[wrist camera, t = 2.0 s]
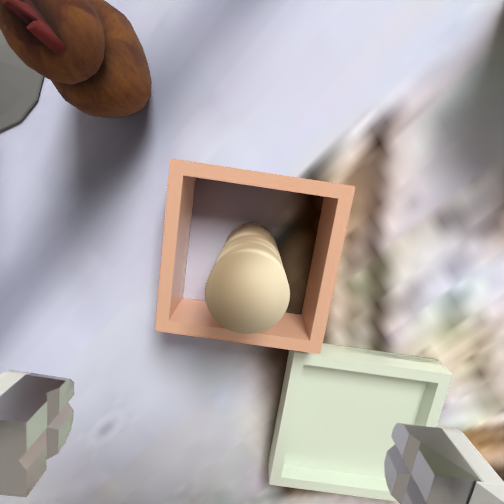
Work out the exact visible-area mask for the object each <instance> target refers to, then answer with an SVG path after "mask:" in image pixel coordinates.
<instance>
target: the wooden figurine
mask: <svg viewBox="0 0 504 504" xmlns="http://www.w3.org/2000/svg"><path fill="white" fill-rule="evenodd" d="M0 29H1V31H2V33H3V35H4V37H5V39H6V41H7V43H8V45H9V47H10V48H11V49H12V50H13V51H14V52H15V53H16V55H17V56H18V57H19V58H20V59H21V60H22V61H23V62H24V63H25V64H26V65H27V66H28V67H30V68H31V69H33V70H34V71H36V72H37V73H39V74H40V75H42V76H44V77H46V78H48V79H50V80H51V81H52V83H53V84H54V86H55V87H56V89H57V90H58V92H59V93H60V94H61V96H62V97H63V98H64V99H65V101H67V102H68V103H70V104H71V105H73V106H74V107H76V108H78V109H79V110H81V111H82V112H84V113H86V114H88V115H92V116H97V117H107V118H119V117H124V116H127V115H131V114H134V113H136V112H138V111H139V110H141V109H142V108H144V107H145V105H146V103H147V101H148V100H149V98H150V96H151V77H150V71H149V67H148V63H147V60H146V57H145V54H144V51H143V48H142V45H141V43H140V41H139V39H138V37H137V35H136V33H135V31H134V29H133V27H132V25H131V23H130V22H129V20H128V19H127V18H126V16H125V15H124V14H122V13H121V12H120V11H118V10H117V9H116V8H114V7H113V6H111V5H110V4H109V3H107V2H106V1H104V0H0Z"/></svg>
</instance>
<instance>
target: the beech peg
mask: <svg viewBox="0 0 504 504" xmlns="http://www.w3.org/2000/svg"><path fill="white" fill-rule="evenodd" d="M289 299H290V289H289V284H288V281H287V277H286V274H285V271H284V268H283V264H282V261H281V258H280V255H279V251H278V248H277V245H276V242H275V239H274V237H273V235H272V233H271V232H270V231H269V230H268V229H267V228H265V227H264V226H262V225H259V224H255V223H247V224H243V225H240V226H238V227H237V228H235V229H234V230H233V231H232V232H231V233H230V235H229V236H228V238H227V240H226V242H225V244H224V247H223V249H222V251H221V253H220V255H219V257H218V259H217V261H216V263H215V265H214V267H213V269H212V271H211V273H210V275H209V277H208V280H207V283H206V288H205V300H206V304H207V307H208V309H209V311H210V313H211V315H212V316H213V318H214V319H215V320H216V321H217V322H218V323H219V324H220V325H222V326H223V327H225V328H226V329H228V330H231V331H233V332H236V333H241V334H254V333H259V332H262V331H265V330H267V329H269V328H271V327H272V326H274V325H275V324H276V323H277V322H278V321H279V320H280V319H281V318H282V317H283V315H284V313H285V312H286V310H287V307H288V304H289Z"/></svg>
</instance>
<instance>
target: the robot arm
mask: <svg viewBox="0 0 504 504" xmlns="http://www.w3.org/2000/svg"><path fill="white" fill-rule="evenodd" d="M73 395H74V382H73V381H72V380H71V379H67V378H61V377H55V376H48V375H42V374H35V373H28V372H21V371H14V370H10V371H5V372H3V373H2V374H1V375H0V495H9V496H20V497H27V496H28V494H29V493H30V491H31V490H32V489H33V487H34V486H35V484H36V483H37V482H38V480H39V479H40V478H41V476H42V475H43V473H44V472H45V471H46V460H47V459H49V458H50V457H52V456H54V455H56V454H57V453H58V452H59V451H60V450H61V448H62V447H63V445H64V444H65V442H66V440H67V437H68V435H69V433H70V430H71V427H72V422H73V411H74V410H73V409H72V407H71V406H70V405H69V403H68V401H69V400H70V399H71V398H72V397H73ZM391 437H392V439H393V441H394V443H395V445H394V446H392V447H391V448H390V449H389V450H388V451H387V453H386V457H385V461H384V471H385V479H386V483H387V486H388V489H389V491H390V494H391V496H393V497H394V498H395V499H396V500H397V501H398V502H399V503H400V504H504V482H503V481H502V479H501V478H500V477H499V476H498V475H497V473H496V472H495V471H494V470H493V468H492V467H491V466H490V465H489V464H488V462H487V461H486V460H485V459H484V458H483V456H482V455H481V454H480V453H479V452H478V450H477V449H476V448H475V447H474V446H473V444H472V443H471V442H470V441H469V440H468V438H467V437H466V436H465V435H464V434H463V433H462V432H461V431H459V430H457V429H453V428H443V427H428V426H420V425H412V424H404V423H397V424H396V425H395V426H394V428H393V431H392V435H391Z"/></svg>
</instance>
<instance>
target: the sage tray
mask: <svg viewBox="0 0 504 504" xmlns="http://www.w3.org/2000/svg"><path fill="white" fill-rule="evenodd" d="M452 376H453V374H452V373H451V372H450V371H449V370H448V369H447V368H446V367H445V366H444V365H443V364H442V363H441V362H440V361H439V360H438V359H431V358H424V357H417V356H410V355H403V354H396V353H388V352H381V351H374V350H367V349H360V348H353V347H346V346H339V345H332V344H325V343H322V348H321V353H320V354H316V353H309V352H301V351H294V350H289V354H288V360H287V365H286V370H285V376H284V381H283V386H282V392H281V397H280V402H279V408H278V413H277V418H276V424H275V429H274V434H273V440H272V445H271V450H270V456H269V461H268V470H269V485H276V486H284V487H291V488H299V489H306V490H314V491H321V492H329V493H337V494H344V495H352V496H359V497H367V498H374V499H382V500H389V501H397V500H396V499H395V498H394V497H393V496H391V494H390V491H389V489H388V486H387V483H386V479H385V471H384V461H385V457H386V453H387V451H388V450H389V449H390V448H391V447H392V446H394V445H395V443H394V441H393V439H392V437H391V435H392V431H393V428H394V426H395V425H396V424H397V423H404V424H412V425H420V426H428V427H437V424H438V421H439V418H440V414H441V411H442V408H443V405H444V402H445V398H446V395H447V392H448V389H449V385H450V382H451V379H452ZM397 502H398V501H397Z"/></svg>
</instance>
